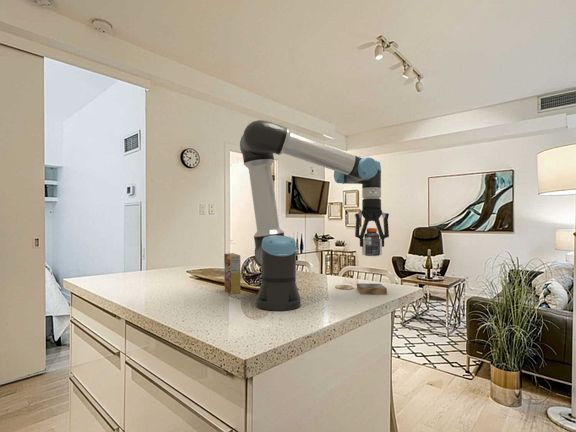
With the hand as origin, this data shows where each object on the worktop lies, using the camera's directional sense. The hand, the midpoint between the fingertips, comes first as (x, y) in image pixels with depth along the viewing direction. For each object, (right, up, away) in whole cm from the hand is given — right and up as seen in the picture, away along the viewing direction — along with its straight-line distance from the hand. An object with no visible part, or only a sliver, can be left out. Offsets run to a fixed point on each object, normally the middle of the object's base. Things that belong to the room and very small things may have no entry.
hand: (371, 254), depth 136 cm
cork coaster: (-10, -15, +8) cm, 20 cm away
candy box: (-57, -15, -2) cm, 59 cm away
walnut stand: (0, -15, 0) cm, 15 cm away
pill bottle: (0, -1, 0) cm, 1 cm away
